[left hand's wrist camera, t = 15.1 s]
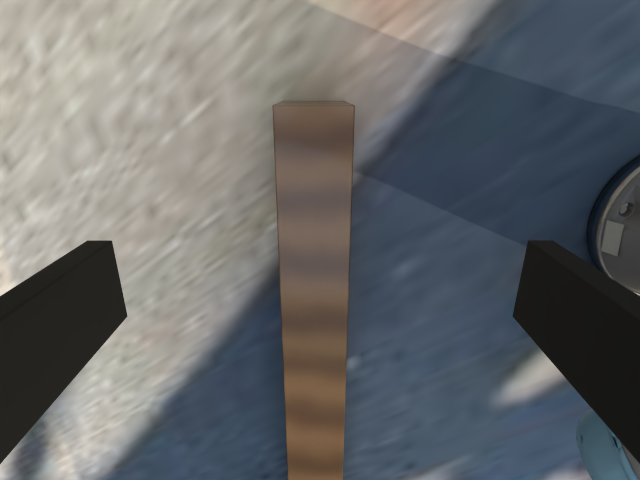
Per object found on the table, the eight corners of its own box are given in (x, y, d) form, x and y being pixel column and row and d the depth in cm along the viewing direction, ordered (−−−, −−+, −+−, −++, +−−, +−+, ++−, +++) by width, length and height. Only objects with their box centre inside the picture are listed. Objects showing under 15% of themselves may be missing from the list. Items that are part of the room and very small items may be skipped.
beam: (281, 101, 34) (272, 105, 26) (345, 101, 34) (354, 105, 26) (298, 610, 62) (296, 682, 54) (333, 609, 62) (336, 681, 55)
